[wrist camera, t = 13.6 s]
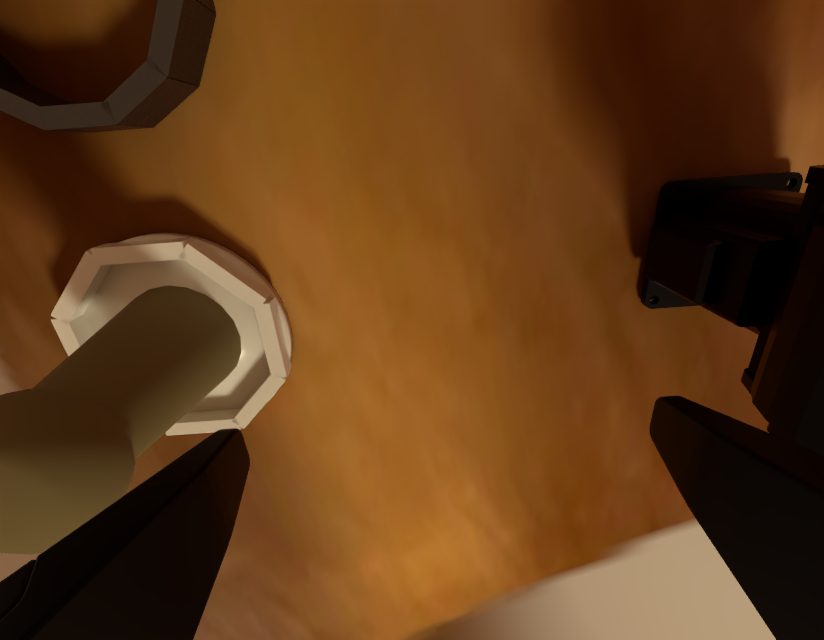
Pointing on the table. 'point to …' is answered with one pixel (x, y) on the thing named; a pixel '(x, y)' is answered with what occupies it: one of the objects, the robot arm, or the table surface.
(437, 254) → the table surface
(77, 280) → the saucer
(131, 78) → the dark grey ring
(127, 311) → the cork
